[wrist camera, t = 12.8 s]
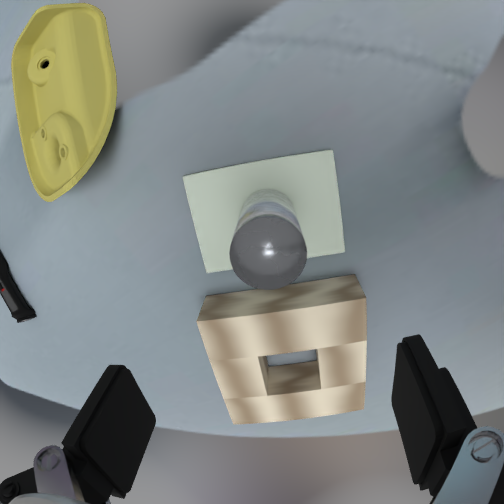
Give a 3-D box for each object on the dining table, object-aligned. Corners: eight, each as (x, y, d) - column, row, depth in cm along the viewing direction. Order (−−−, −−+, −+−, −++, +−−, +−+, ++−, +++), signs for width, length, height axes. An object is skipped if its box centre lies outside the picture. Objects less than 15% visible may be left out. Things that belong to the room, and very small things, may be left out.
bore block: (354, 274, 33) (366, 297, 28) (356, 381, 38) (363, 409, 34) (206, 295, 35) (196, 321, 30) (237, 396, 40) (233, 424, 36)
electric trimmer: (-9, 220, 34) (-23, 227, 31) (39, 315, 39) (27, 326, 36) (-19, 229, 35) (-33, 237, 32) (26, 319, 39) (15, 330, 36)
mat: (331, 149, 28) (332, 150, 28) (343, 249, 32) (344, 252, 31) (184, 175, 30) (182, 176, 29) (208, 269, 34) (206, 273, 33)
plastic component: (10, 52, 23) (43, -1, 17) (61, 48, 29) (103, 2, 23) (38, 209, 28) (74, 188, 23) (91, 190, 34) (139, 168, 29)
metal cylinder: (288, 183, 29) (299, 209, 20) (299, 234, 31) (312, 281, 21) (235, 195, 30) (220, 226, 20) (248, 245, 31) (240, 295, 22)
